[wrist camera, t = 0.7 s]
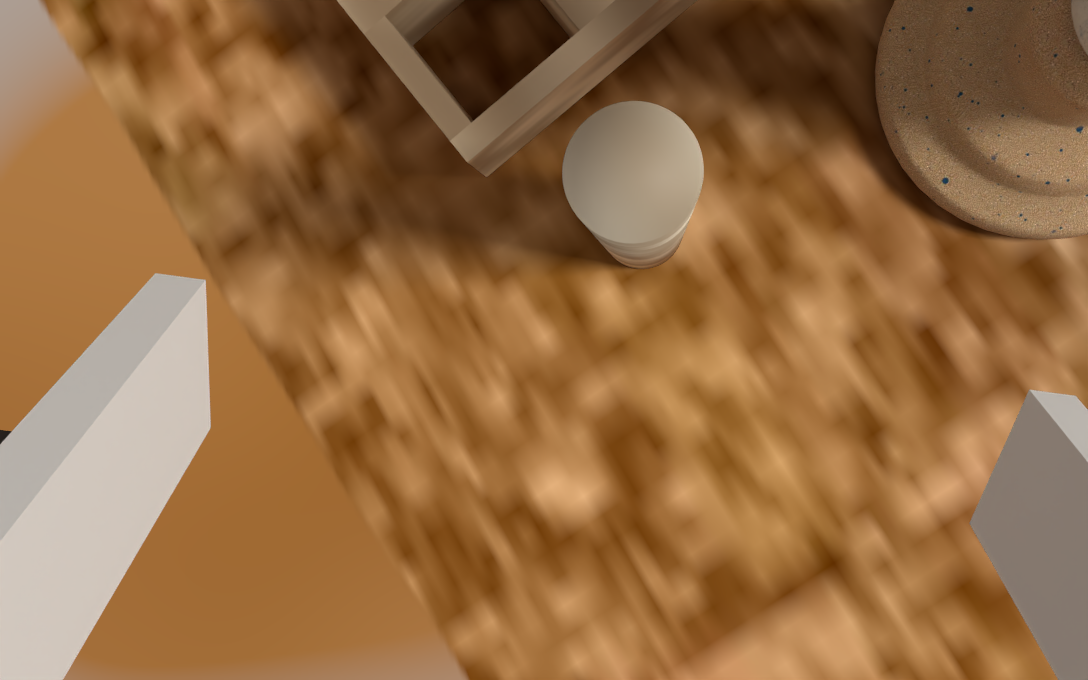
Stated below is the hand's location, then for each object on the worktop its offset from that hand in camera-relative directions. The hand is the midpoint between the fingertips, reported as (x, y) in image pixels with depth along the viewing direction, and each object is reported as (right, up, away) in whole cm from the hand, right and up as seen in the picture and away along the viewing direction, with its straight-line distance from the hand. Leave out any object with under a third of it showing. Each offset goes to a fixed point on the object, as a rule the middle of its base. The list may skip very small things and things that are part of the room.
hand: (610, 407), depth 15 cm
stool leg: (+3, +6, +22) cm, 23 cm away
